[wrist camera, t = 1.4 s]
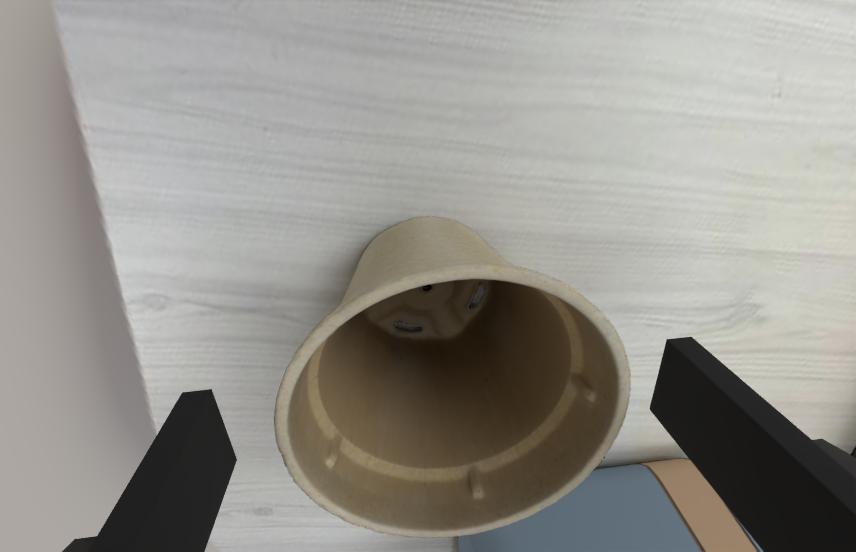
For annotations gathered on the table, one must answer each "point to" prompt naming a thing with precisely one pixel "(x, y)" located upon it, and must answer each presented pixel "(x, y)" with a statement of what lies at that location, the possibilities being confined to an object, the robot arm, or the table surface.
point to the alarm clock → (626, 516)
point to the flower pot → (449, 389)
